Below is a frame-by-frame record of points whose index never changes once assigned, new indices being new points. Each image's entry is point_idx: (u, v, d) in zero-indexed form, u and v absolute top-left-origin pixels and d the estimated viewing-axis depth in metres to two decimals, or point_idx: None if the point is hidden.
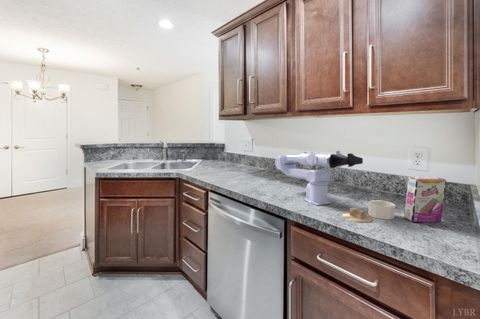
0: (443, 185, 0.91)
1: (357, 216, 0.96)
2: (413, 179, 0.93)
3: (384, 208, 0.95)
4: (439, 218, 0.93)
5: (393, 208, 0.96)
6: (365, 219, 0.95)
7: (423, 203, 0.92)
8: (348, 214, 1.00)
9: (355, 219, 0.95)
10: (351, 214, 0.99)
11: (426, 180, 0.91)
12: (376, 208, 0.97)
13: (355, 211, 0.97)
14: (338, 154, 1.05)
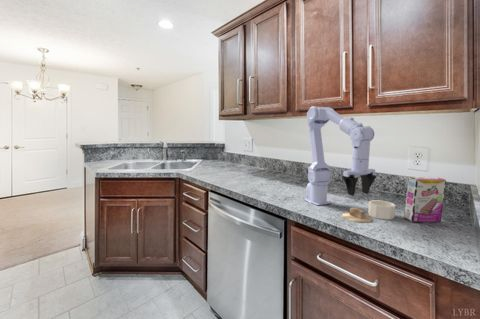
0: (443, 185, 0.91)
1: (357, 216, 0.96)
2: (413, 179, 0.93)
3: (384, 208, 0.95)
4: (439, 218, 0.93)
5: (393, 208, 0.96)
6: (365, 218, 0.95)
7: (423, 203, 0.92)
8: (348, 214, 1.00)
9: (355, 219, 0.94)
10: (351, 214, 0.98)
11: (426, 180, 0.91)
12: (376, 208, 0.97)
13: (355, 211, 0.97)
14: None
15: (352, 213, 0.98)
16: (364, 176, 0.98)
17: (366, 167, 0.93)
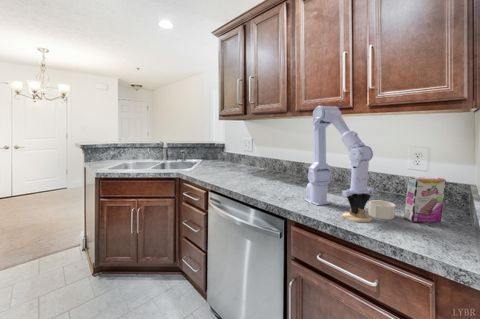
0: (443, 185, 0.91)
1: (357, 215, 0.96)
2: (413, 179, 0.93)
3: (384, 208, 0.95)
4: (439, 218, 0.93)
5: (393, 208, 0.96)
6: (365, 218, 0.95)
7: (423, 203, 0.92)
8: (348, 213, 1.00)
9: (355, 218, 0.94)
10: (351, 213, 0.98)
11: (426, 180, 0.91)
12: (376, 208, 0.97)
13: None
14: None
15: None
16: (358, 195, 0.98)
17: (365, 187, 0.94)
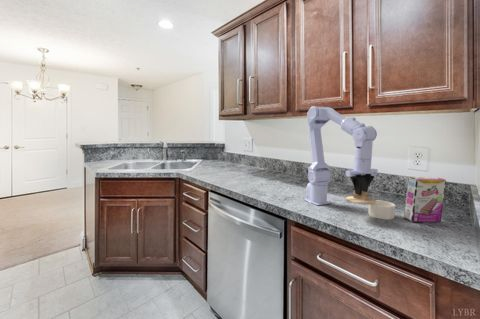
0: (443, 185, 0.91)
1: (361, 198, 0.95)
2: (413, 179, 0.93)
3: (384, 208, 0.95)
4: (439, 218, 0.93)
5: (393, 208, 0.96)
6: (369, 200, 0.94)
7: (423, 203, 0.92)
8: (352, 197, 0.99)
9: (359, 200, 0.94)
10: (355, 196, 0.98)
11: (426, 180, 0.91)
12: (376, 208, 0.97)
13: None
14: None
15: (356, 195, 0.97)
16: (362, 176, 0.97)
17: (369, 167, 0.93)
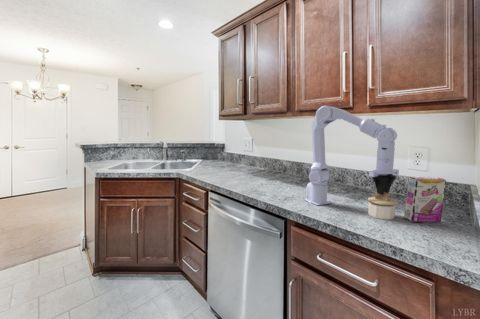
0: (443, 185, 0.91)
1: (383, 199, 0.98)
2: (413, 179, 0.93)
3: (384, 208, 0.95)
4: (439, 218, 0.93)
5: (393, 208, 0.96)
6: (392, 201, 0.97)
7: (423, 203, 0.92)
8: (373, 198, 1.02)
9: (382, 201, 0.96)
10: (377, 197, 1.00)
11: (426, 180, 0.91)
12: (376, 208, 0.97)
13: None
14: (390, 173, 0.96)
15: (378, 196, 1.00)
16: (384, 177, 1.00)
17: (391, 167, 0.95)
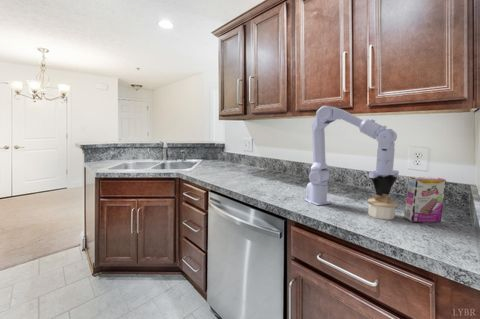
0: (443, 185, 0.91)
1: (383, 201, 0.98)
2: (413, 179, 0.93)
3: (384, 208, 0.95)
4: (439, 218, 0.93)
5: (393, 208, 0.96)
6: (391, 203, 0.97)
7: (423, 203, 0.92)
8: (373, 199, 1.02)
9: (382, 203, 0.96)
10: (377, 199, 1.00)
11: (426, 180, 0.91)
12: (376, 208, 0.97)
13: (381, 196, 0.99)
14: (390, 174, 0.96)
15: (378, 198, 1.00)
16: (384, 178, 1.00)
17: (391, 169, 0.96)
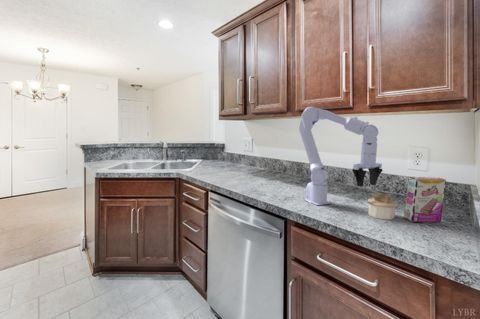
0: (443, 185, 0.91)
1: (383, 201, 0.98)
2: (413, 179, 0.93)
3: (384, 208, 0.95)
4: (439, 218, 0.93)
5: (393, 208, 0.96)
6: (391, 203, 0.97)
7: (423, 203, 0.92)
8: (373, 199, 1.02)
9: (382, 203, 0.96)
10: (377, 199, 1.00)
11: (426, 180, 0.91)
12: (376, 208, 0.97)
13: (381, 196, 0.99)
14: (373, 166, 1.04)
15: (378, 198, 1.00)
16: (372, 169, 1.09)
17: (374, 161, 1.04)
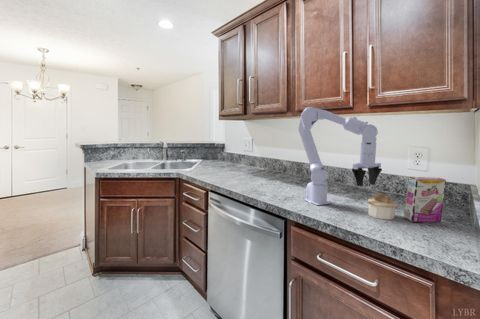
0: (443, 185, 0.91)
1: (383, 201, 0.98)
2: (413, 179, 0.93)
3: (384, 208, 0.95)
4: (439, 218, 0.93)
5: (393, 208, 0.96)
6: (391, 203, 0.97)
7: (423, 203, 0.92)
8: (373, 199, 1.02)
9: (382, 203, 0.96)
10: (377, 199, 1.00)
11: (426, 180, 0.91)
12: (376, 208, 0.97)
13: (381, 196, 0.99)
14: None
15: (378, 198, 1.00)
16: (371, 169, 1.09)
17: (373, 161, 1.04)
